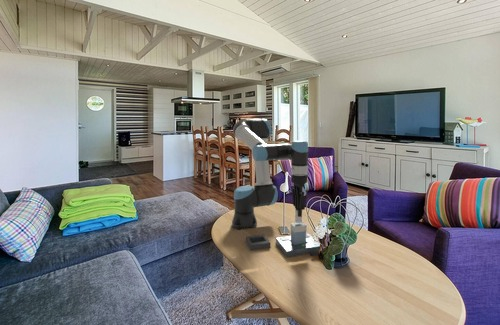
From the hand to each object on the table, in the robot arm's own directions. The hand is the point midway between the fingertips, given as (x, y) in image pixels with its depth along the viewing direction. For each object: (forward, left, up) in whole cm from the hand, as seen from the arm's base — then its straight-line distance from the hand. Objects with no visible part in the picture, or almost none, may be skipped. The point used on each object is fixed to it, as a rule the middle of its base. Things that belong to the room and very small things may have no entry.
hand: (298, 222), depth 124 cm
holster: (-9, -18, -14) cm, 24 cm away
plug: (0, 0, -13) cm, 13 cm away
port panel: (0, 0, -14) cm, 14 cm away
